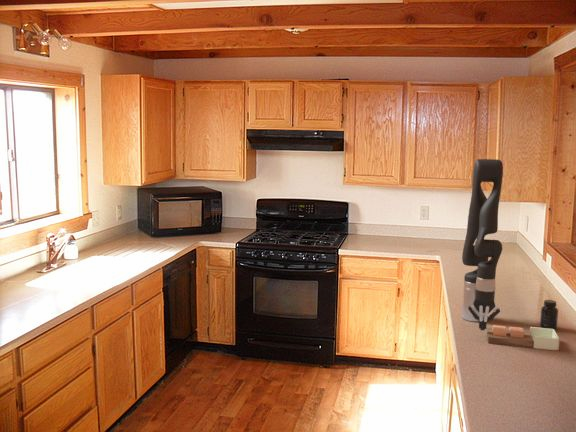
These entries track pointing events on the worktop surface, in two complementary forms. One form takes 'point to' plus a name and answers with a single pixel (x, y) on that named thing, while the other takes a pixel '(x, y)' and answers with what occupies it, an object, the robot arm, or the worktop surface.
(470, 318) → the robot arm
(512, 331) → the tile
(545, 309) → the supplement bottle
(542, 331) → the tray
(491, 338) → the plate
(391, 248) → the worktop surface
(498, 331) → the tile
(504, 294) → the worktop surface
